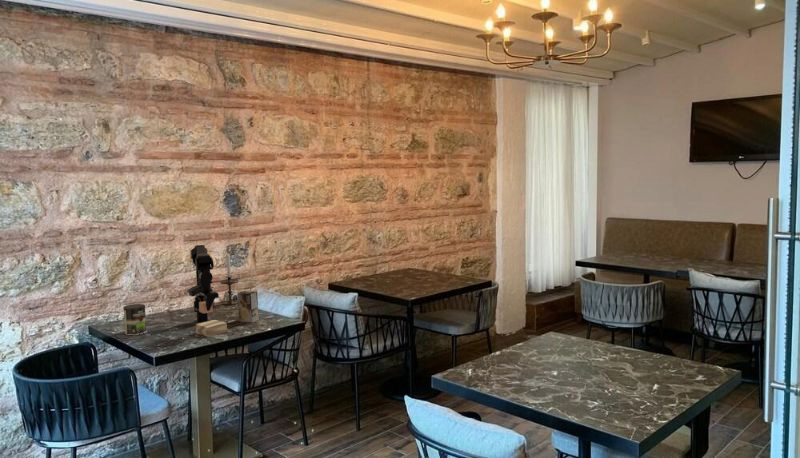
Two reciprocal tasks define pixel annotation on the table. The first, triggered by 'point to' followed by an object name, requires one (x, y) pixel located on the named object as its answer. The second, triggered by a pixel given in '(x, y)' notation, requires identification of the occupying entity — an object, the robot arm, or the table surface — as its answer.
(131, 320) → the coffee can
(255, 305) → the coffee box
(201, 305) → the cube
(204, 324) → the base block
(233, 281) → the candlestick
